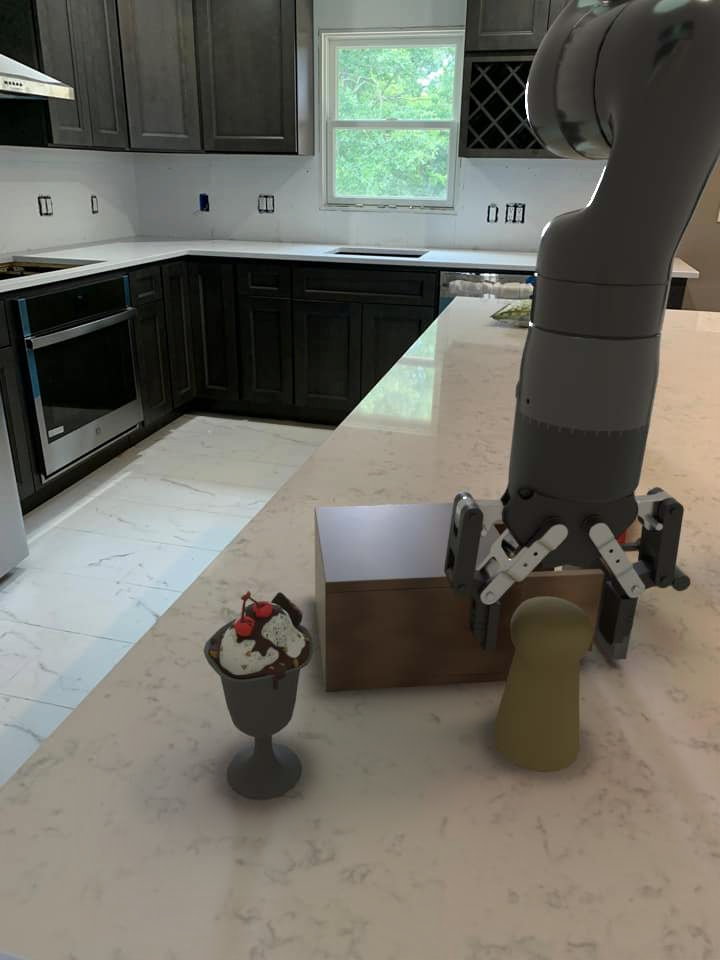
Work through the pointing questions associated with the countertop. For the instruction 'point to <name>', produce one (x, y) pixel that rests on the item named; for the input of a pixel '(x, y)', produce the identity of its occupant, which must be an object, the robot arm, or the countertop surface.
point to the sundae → (262, 690)
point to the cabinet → (399, 601)
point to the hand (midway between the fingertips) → (548, 641)
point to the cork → (543, 685)
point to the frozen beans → (515, 313)
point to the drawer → (584, 590)
